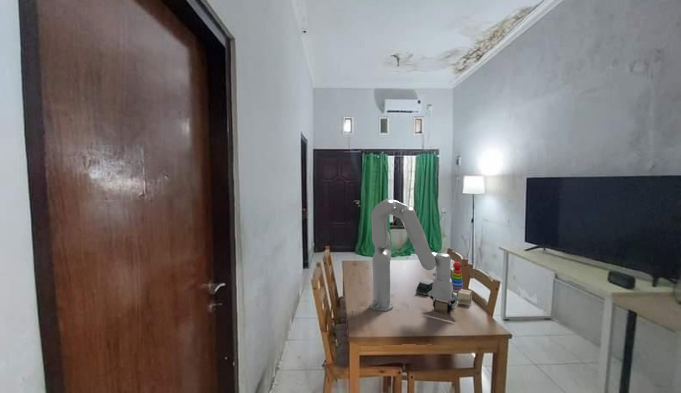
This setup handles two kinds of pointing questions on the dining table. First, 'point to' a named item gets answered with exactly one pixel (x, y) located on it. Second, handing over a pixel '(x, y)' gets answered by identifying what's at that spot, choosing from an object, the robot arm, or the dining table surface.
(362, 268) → the dining table surface
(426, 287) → the miniature car
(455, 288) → the stacking toy
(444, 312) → the walnut block
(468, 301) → the beech block
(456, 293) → the sage block
